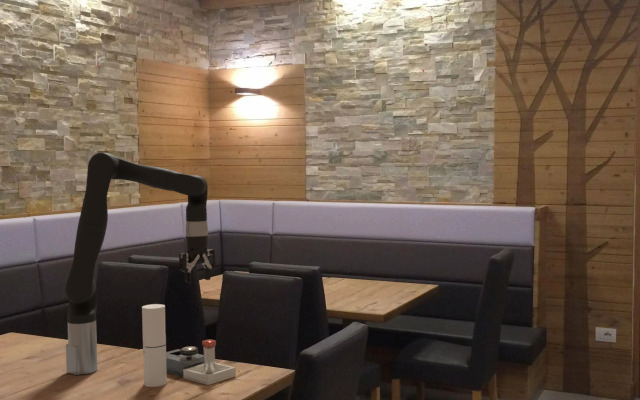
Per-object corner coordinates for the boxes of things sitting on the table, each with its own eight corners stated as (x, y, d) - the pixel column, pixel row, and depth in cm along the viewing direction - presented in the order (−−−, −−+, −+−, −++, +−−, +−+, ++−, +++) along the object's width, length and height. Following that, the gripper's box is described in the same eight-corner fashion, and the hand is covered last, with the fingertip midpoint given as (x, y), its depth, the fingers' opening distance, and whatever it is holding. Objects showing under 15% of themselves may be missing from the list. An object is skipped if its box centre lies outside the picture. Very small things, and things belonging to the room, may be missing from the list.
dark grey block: (183, 377, 243) (183, 352, 242) (155, 369, 252) (154, 345, 252) (206, 370, 250) (206, 346, 250) (178, 363, 260) (177, 340, 259)
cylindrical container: (155, 388, 231) (153, 309, 230) (139, 384, 235) (137, 307, 234) (171, 382, 237) (169, 305, 236) (155, 379, 241) (153, 303, 240)
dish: (208, 385, 234) (208, 375, 233) (183, 378, 241) (183, 369, 241) (235, 376, 243) (235, 367, 243) (211, 370, 250) (210, 361, 250)
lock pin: (209, 377, 239) (208, 343, 238) (200, 375, 242) (199, 341, 241) (219, 374, 242) (218, 340, 242) (210, 372, 245) (209, 339, 245)
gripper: (205, 231, 258) (206, 277, 259) (173, 235, 247) (174, 283, 248) (219, 233, 253) (220, 279, 254) (187, 236, 242) (189, 285, 243)
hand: (197, 281), depth 251 cm, fingers open, 8 cm apart
